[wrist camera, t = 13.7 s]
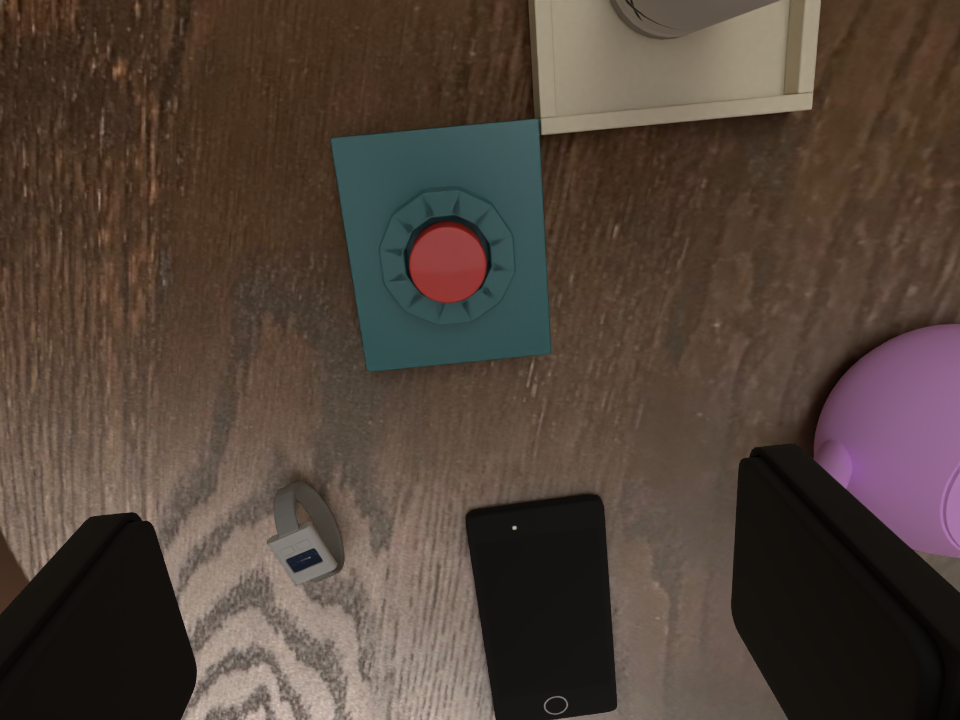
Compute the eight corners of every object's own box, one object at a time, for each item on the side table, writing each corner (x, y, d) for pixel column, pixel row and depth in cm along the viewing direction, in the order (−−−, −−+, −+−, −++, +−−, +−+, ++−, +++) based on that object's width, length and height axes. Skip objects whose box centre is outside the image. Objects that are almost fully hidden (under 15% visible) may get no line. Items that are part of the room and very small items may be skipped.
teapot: (739, 340, 39) (840, 416, 29) (1069, 294, 39) (1285, 353, 29) (737, 533, 44) (823, 655, 34) (1031, 492, 44) (1205, 601, 34)
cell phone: (496, 717, 48) (497, 728, 47) (464, 509, 42) (464, 518, 41) (614, 701, 48) (617, 711, 47) (600, 491, 42) (603, 499, 41)
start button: (406, 225, 31) (404, 230, 29) (481, 217, 31) (483, 223, 29) (415, 297, 32) (414, 306, 31) (487, 290, 32) (489, 299, 31)
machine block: (339, 136, 34) (322, 138, 29) (530, 118, 34) (544, 118, 29) (373, 352, 38) (363, 385, 33) (543, 335, 38) (556, 365, 33)
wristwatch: (273, 477, 40) (251, 524, 36) (312, 460, 40) (295, 505, 36) (322, 552, 43) (306, 605, 38) (359, 536, 42) (349, 588, 38)
